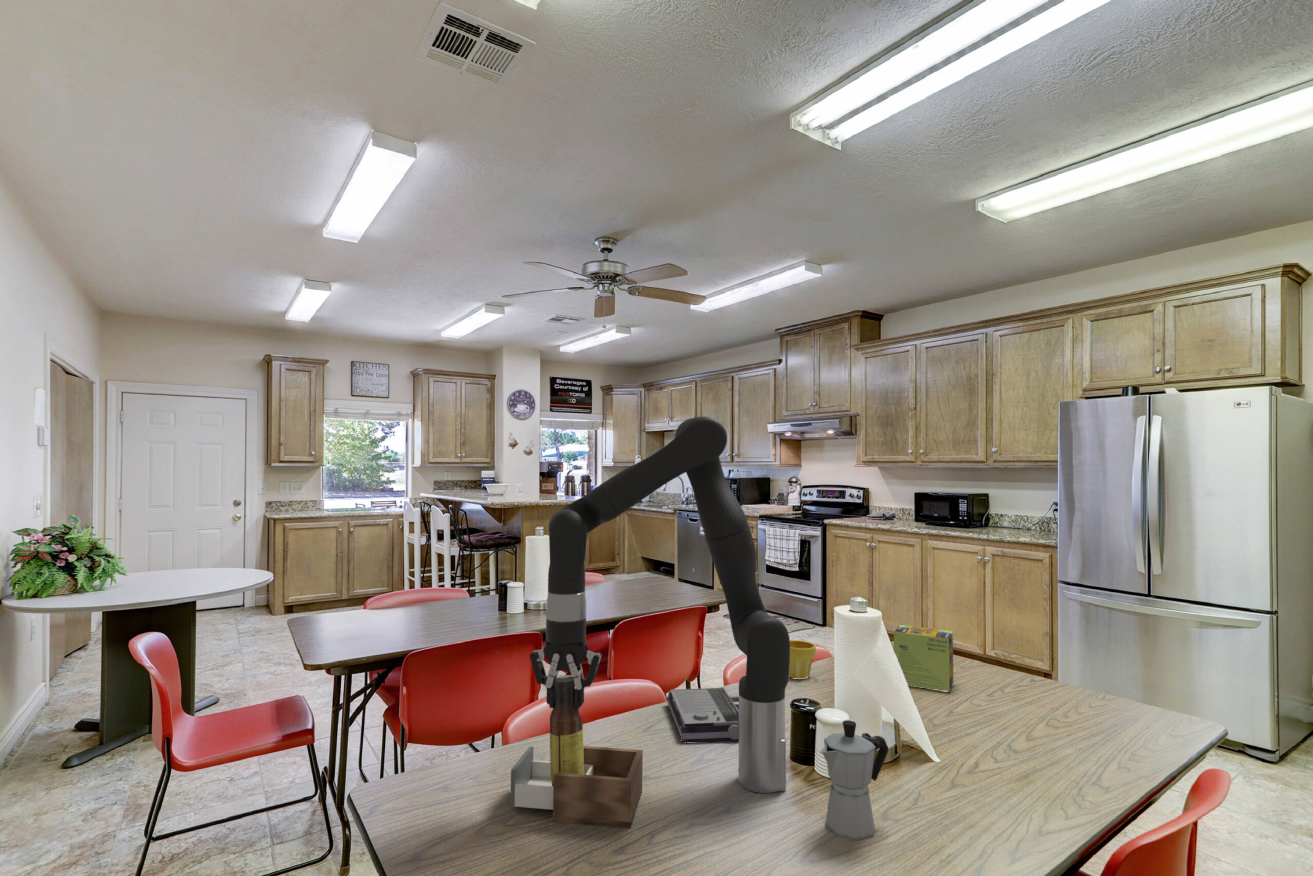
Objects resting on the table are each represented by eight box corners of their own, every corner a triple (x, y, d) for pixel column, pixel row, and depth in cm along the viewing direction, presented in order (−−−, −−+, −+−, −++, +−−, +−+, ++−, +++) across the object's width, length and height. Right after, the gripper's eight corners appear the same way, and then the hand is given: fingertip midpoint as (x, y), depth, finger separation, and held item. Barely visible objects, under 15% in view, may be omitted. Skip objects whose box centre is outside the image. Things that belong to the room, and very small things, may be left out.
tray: (593, 785, 124) (593, 751, 125) (580, 812, 114) (580, 775, 115) (528, 779, 126) (529, 746, 126) (510, 806, 116) (511, 769, 117)
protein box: (950, 694, 182) (949, 638, 182) (893, 684, 189) (892, 631, 190) (954, 683, 191) (953, 630, 191) (899, 674, 198) (899, 624, 199)
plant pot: (814, 672, 200) (814, 640, 200) (816, 683, 190) (816, 649, 190) (780, 670, 202) (780, 638, 202) (780, 680, 192) (780, 647, 192)
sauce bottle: (589, 781, 122) (590, 675, 123) (574, 797, 116) (575, 685, 117) (558, 775, 124) (559, 671, 125) (542, 791, 118) (543, 681, 119)
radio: (666, 687, 171) (740, 684, 173) (666, 707, 170) (740, 704, 173) (681, 722, 146) (766, 719, 149) (681, 746, 146) (766, 742, 149)
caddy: (642, 792, 124) (642, 750, 125) (630, 828, 112) (631, 781, 112) (572, 786, 126) (572, 745, 127) (552, 821, 114) (553, 775, 114)
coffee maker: (837, 848, 107) (836, 737, 107) (804, 821, 115) (804, 718, 116) (905, 828, 112) (904, 724, 113) (870, 804, 121) (869, 707, 121)
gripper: (607, 612, 124) (606, 702, 124) (536, 609, 126) (535, 698, 126) (598, 621, 117) (597, 717, 116) (523, 618, 119) (521, 712, 118)
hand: (565, 706), depth 121 cm, fingers closed on sauce bottle, 4 cm apart
